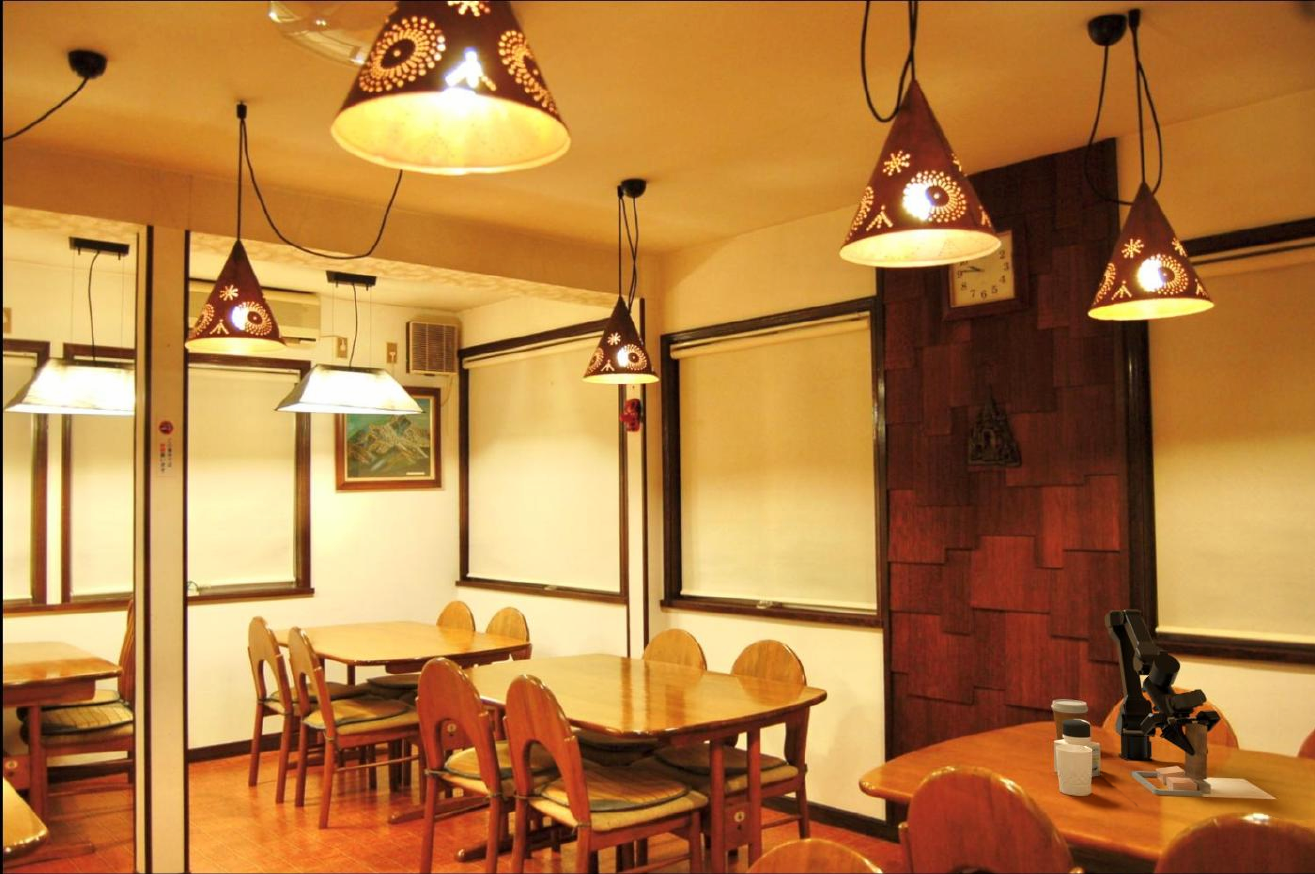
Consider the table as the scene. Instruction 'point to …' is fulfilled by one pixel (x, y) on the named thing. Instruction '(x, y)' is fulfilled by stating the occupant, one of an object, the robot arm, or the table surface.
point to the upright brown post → (1197, 756)
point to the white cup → (1074, 769)
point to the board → (1234, 789)
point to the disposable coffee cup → (1067, 713)
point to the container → (1079, 741)
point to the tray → (1139, 776)
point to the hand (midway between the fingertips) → (1200, 754)
